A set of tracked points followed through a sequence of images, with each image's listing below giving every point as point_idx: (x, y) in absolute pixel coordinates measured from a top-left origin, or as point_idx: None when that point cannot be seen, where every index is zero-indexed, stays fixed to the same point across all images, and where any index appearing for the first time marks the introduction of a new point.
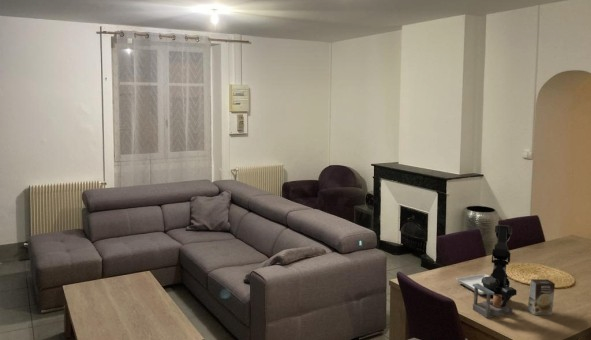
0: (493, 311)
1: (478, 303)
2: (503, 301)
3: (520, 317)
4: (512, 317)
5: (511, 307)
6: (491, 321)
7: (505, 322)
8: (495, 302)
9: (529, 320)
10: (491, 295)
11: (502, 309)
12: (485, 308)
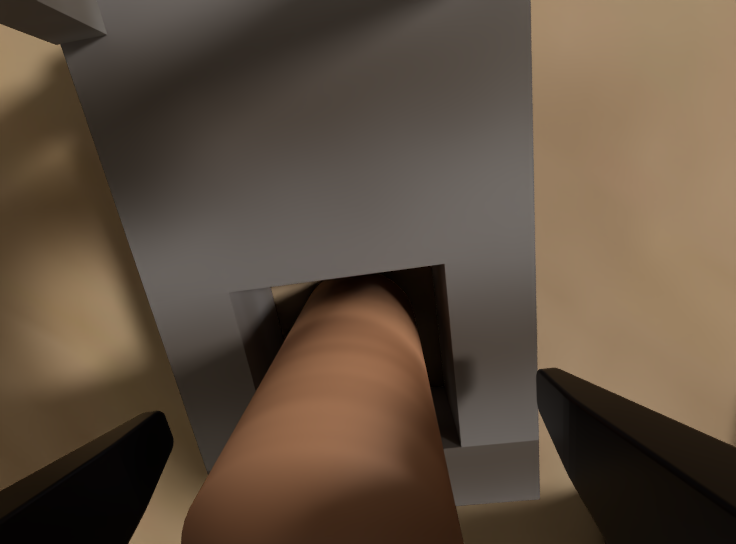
0: (110, 162)
1: (503, 26)
2: (10, 496)
3: None
4: (156, 400)
5: None
6: (13, 43)
7: (5, 240)
8: (290, 350)
9: None
10: (580, 442)
11: (170, 359)
12: (223, 48)
